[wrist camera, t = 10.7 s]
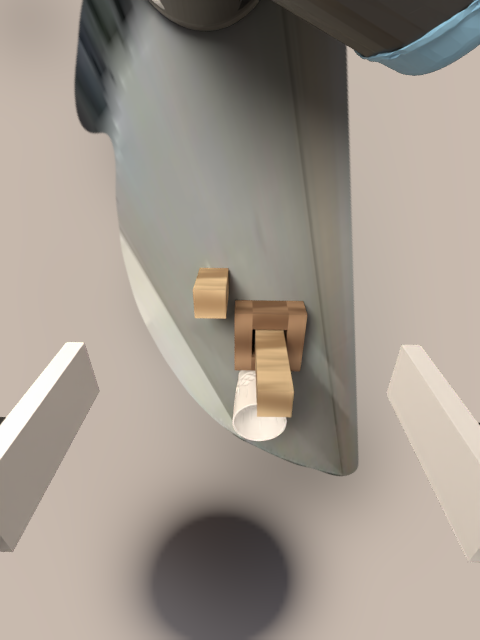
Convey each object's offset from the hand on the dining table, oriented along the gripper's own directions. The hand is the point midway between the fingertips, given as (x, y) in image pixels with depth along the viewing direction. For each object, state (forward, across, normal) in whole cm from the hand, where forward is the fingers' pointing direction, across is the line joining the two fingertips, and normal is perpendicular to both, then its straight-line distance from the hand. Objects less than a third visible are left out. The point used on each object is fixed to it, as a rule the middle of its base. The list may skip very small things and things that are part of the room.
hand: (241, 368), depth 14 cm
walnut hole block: (+32, +3, -19) cm, 38 cm away
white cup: (+32, +2, -29) cm, 44 cm away
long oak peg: (+32, +3, -19) cm, 38 cm away
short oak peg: (+32, -4, -11) cm, 34 cm away
